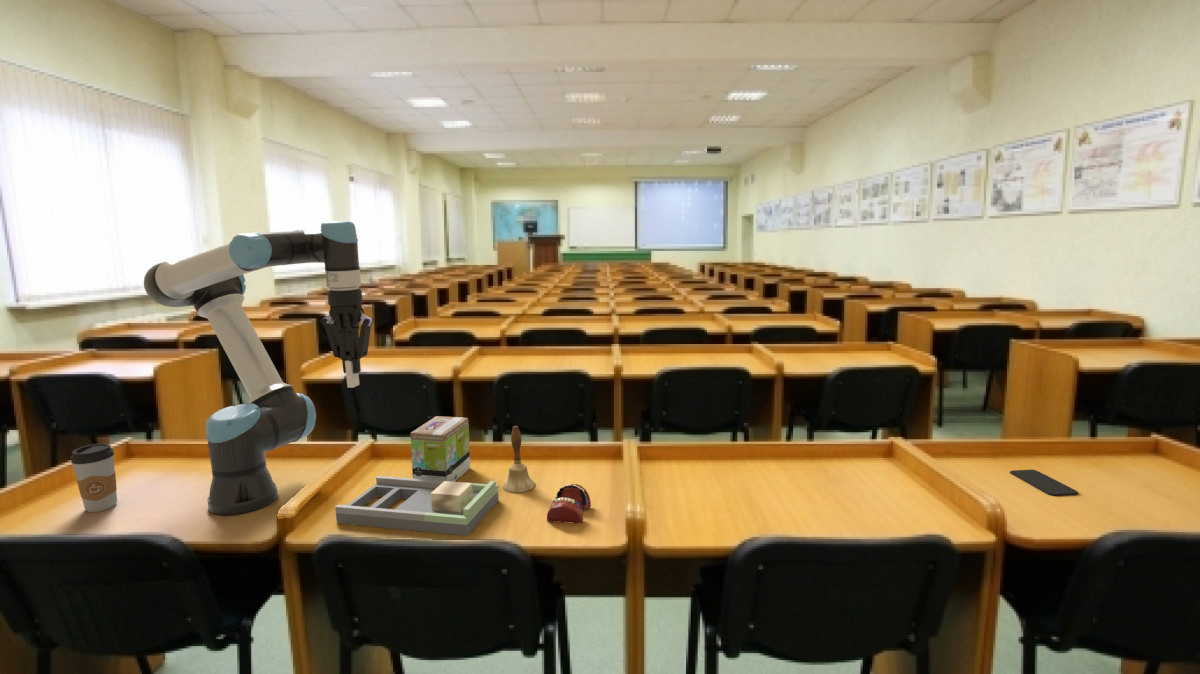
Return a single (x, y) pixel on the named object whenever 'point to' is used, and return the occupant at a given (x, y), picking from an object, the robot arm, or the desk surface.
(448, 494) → the block
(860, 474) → the desk surface
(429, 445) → the tea box
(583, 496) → the teeth model
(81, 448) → the coffee cup
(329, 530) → the desk surface
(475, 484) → the lane deck
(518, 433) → the hand bell
